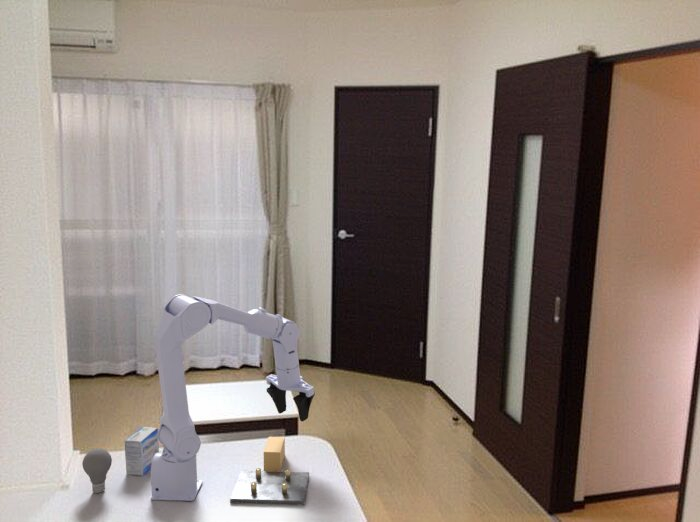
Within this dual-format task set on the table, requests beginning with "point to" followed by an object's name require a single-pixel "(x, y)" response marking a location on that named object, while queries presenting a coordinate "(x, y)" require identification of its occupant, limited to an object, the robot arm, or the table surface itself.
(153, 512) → the table surface
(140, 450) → the medicine box
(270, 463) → the ochre block
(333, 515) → the table surface
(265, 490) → the chassis plate
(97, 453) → the light bulb
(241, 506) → the table surface
